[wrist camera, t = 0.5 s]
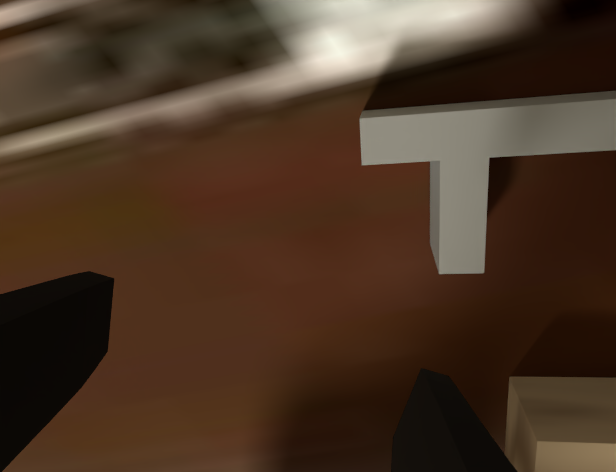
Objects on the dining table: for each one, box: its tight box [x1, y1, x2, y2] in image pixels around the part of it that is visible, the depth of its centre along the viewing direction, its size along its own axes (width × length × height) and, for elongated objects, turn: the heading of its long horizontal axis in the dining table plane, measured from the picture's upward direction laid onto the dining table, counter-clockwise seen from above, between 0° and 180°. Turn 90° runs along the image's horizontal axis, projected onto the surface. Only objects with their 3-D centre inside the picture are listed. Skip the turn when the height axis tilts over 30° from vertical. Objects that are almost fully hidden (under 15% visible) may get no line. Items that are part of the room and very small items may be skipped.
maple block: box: [505, 377, 616, 472], centre depth 19 cm, size 6×6×4 cm
